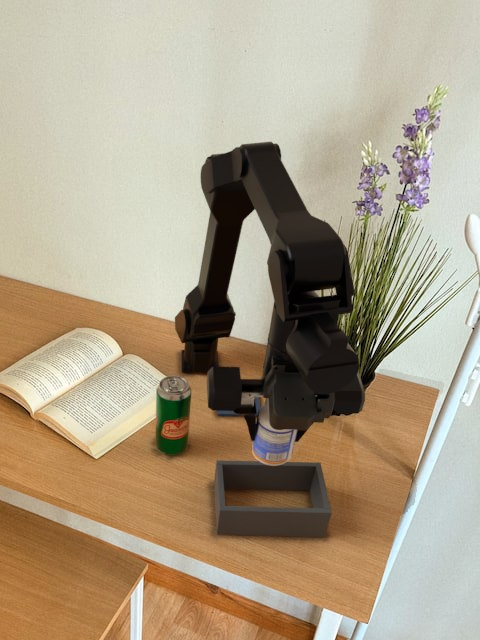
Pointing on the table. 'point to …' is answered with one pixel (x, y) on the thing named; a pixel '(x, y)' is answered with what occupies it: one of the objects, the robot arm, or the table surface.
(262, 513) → the tub
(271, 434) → the pill bottle
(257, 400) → the mat
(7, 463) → the table surface
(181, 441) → the soda can
